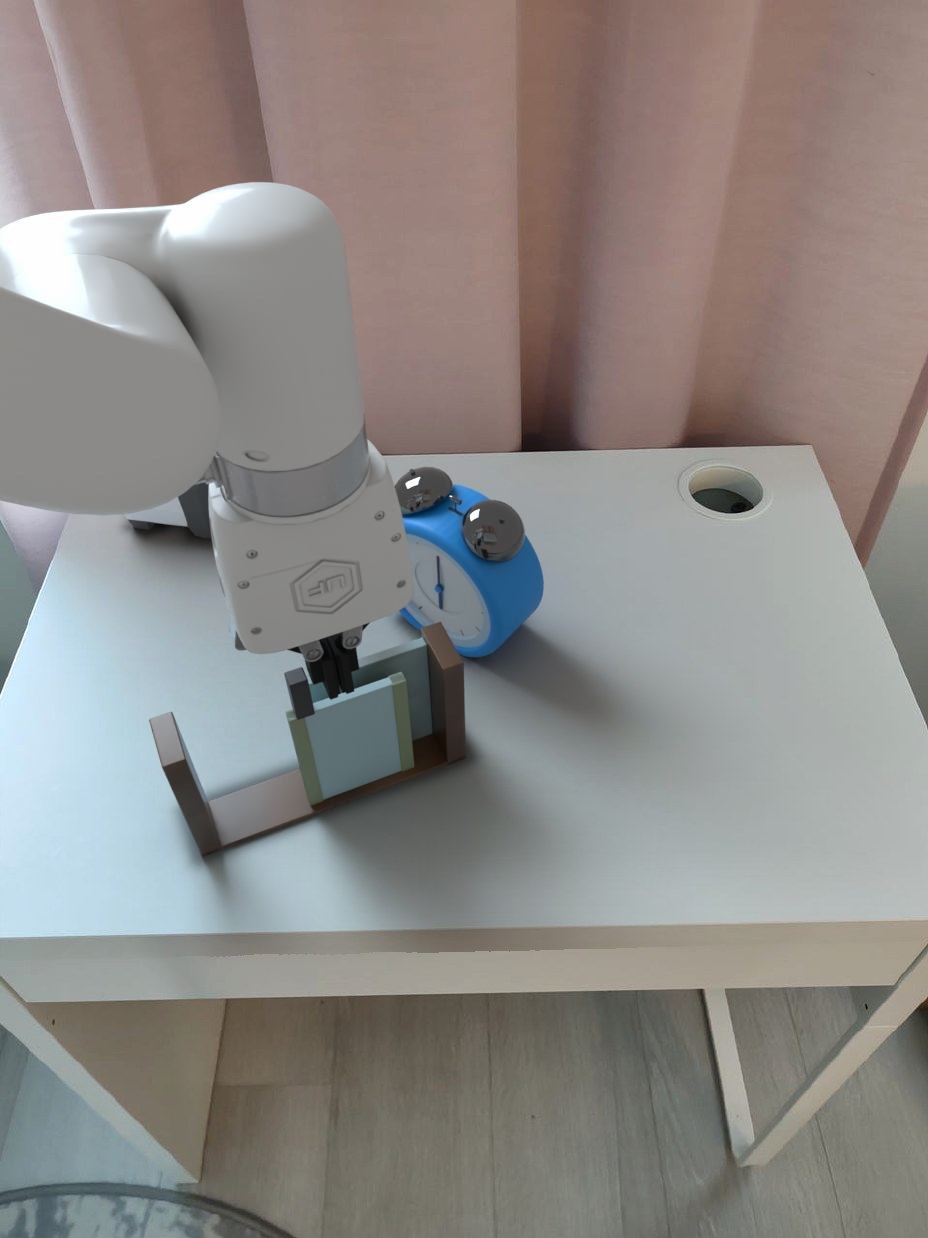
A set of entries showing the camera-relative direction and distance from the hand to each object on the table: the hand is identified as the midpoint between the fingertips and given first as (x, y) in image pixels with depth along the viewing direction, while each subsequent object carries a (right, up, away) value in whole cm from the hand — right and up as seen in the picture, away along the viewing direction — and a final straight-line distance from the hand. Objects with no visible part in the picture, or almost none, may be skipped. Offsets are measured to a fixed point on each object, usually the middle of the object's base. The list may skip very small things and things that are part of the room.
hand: (334, 679), depth 63 cm
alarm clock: (+8, +3, +21) cm, 23 cm away
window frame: (-2, -9, +11) cm, 14 cm away
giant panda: (-16, +12, +30) cm, 36 cm away
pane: (+1, -8, +10) cm, 12 cm away
